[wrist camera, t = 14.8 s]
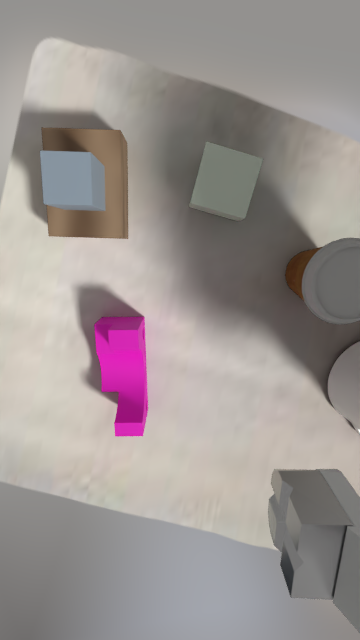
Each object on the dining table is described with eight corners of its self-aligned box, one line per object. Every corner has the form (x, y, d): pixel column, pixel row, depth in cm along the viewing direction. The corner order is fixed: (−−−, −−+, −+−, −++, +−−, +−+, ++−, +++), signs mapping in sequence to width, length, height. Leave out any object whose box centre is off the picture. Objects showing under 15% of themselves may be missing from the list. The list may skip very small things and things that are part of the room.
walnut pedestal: (127, 143, 41) (120, 130, 36) (128, 238, 44) (121, 238, 39) (57, 140, 41) (41, 127, 36) (63, 236, 44) (48, 236, 39)
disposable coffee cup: (272, 242, 44) (306, 242, 33) (341, 235, 44) (400, 233, 33) (274, 308, 47) (306, 331, 35) (340, 302, 46) (394, 323, 35)
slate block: (104, 166, 37) (90, 152, 32) (105, 210, 39) (92, 205, 33) (61, 164, 37) (39, 150, 31) (64, 209, 38) (43, 203, 33)
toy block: (102, 316, 47) (88, 330, 40) (144, 316, 47) (138, 329, 40) (108, 408, 51) (97, 436, 43) (148, 408, 51) (142, 436, 43)
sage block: (253, 168, 42) (263, 158, 37) (237, 221, 44) (244, 218, 39) (203, 152, 42) (206, 141, 37) (188, 207, 43) (189, 202, 39)
